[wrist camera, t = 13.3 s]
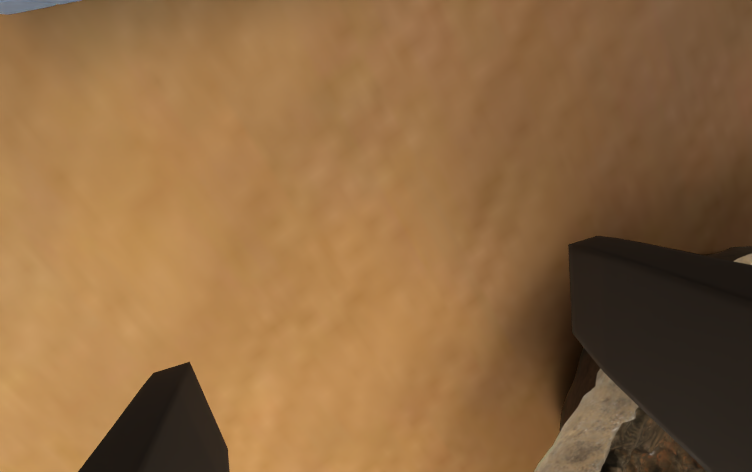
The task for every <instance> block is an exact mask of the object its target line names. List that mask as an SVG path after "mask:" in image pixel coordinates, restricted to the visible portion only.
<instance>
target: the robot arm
mask: <svg viewBox="0 0 752 472" xmlns="http://www.w3.org/2000/svg"><path fill="white" fill-rule="evenodd" d="M568 247H569V271H570V295H571V318H572V333H573V334H574V335H575V337H576V338H577V339H578V341H579V342H580V343H581V345H582V346H583V347H584V348H585V350H586V351H587V352H588V354H589V355H590V356H591V357H592V359H593V360H594V361H595V362H596V363H597V365H598V366H599V367H600V368H601V369H602V371H603V372H604V373H605V374H606V375H607V376H608V377H609V378H610V379H611V380H612V381H613V382H614V383H615V384H616V385H617V386H618V387H619V388H620V389H621V390H622V391H623V392H624V393H625V394H626V395H627V396H628V397H629V398H631V399H632V400H633V401H634V402H635V403H636V404H637V405H638V406H639V407H640V408H641V409H642V410H643V411H644V412H645V413H646V414H647V415H648V416H649V417H650V418H651V419H653V420H654V421H655V422H656V423H657V424H658V425H659V426H660V427H661V428H662V429H663V430H664V431H665V432H666V433H667V434H668V435H669V436H670V437H671V438H673V439H674V440H675V441H676V442H677V443H678V444H679V445H680V446H681V447H682V448H683V449H684V450H685V451H686V452H687V453H688V454H689V455H690V456H691V457H692V458H694V459H695V460H696V461H697V462H698V463H699V464H700V465H701V466H702V467H703V468H704V469H705V470H706V471H707V472H752V265H750V264H745V263H739V262H734V261H729V260H724V259H719V258H714V257H709V256H704V255H699V254H694V253H689V252H685V251H680V250H675V249H670V248H665V247H660V246H656V245H651V244H646V243H641V242H635V241H630V240H624V239H618V238H611V237H602V236H595V237H592V238H589V239H585V240H582V241H579V242H576V243H573V244H569V245H568ZM78 472H229V460H228V448H227V446H226V444H225V442H224V439H223V437H222V435H221V432H220V430H219V428H218V426H217V423H216V421H215V419H214V416H213V414H212V412H211V410H210V407H209V405H208V403H207V400H206V398H205V396H204V394H203V391H202V389H201V387H200V384H199V382H198V380H197V378H196V375H195V373H194V371H193V369H192V366H191V364H190V362H188V363H185V364H181V365H178V366H175V367H172V368H168V369H165V370H162V371H159V372H155V373H153V374H152V376H151V377H150V378H149V379H148V380H147V381H146V383H145V384H144V385H143V387H142V388H141V389H140V390H139V392H138V393H137V394H136V396H135V397H134V398H133V400H132V401H131V402H130V404H129V405H128V407H127V408H126V409H125V411H124V412H123V413H122V415H121V416H120V417H119V419H118V420H117V421H116V423H115V424H114V425H113V427H112V428H111V429H110V431H109V432H108V433H107V435H106V436H105V437H104V439H103V440H102V441H101V443H100V444H99V445H98V446H97V448H96V449H95V450H94V452H93V453H92V454H91V456H90V457H89V458H88V460H87V461H86V462H85V464H84V465H83V466H82V468H81V469H80V470H79V471H78Z"/></svg>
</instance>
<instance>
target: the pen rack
mask: <svg viewBox="0 0 752 472" xmlns="http://www.w3.org/2000/svg"><path fill="white" fill-rule="evenodd" d="M76 1H81V0H0V14H9V15H10V14H15V13H20V12H25V11H30V10H35V9H40V8H45V7H50V6H55V5H56V4H66V3H71V2H76Z"/></svg>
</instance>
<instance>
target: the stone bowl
mask: <svg viewBox="0 0 752 472" xmlns="http://www.w3.org/2000/svg"><path fill="white" fill-rule="evenodd" d="M706 256H709V257H714V258H719V259H724V260H729V261H734V262H739V263H745V264H750V265H752V246H747V247H733V248H729V249H727V250H725V251H723V252H720V253H716V254H711V255H706ZM534 472H707V471H706V470H705V469H704V468H703V467H702V466H701V465H700V464H699V463H698V462H697V461H696V460H695V459H694V458H692V457H691V456H690V455H689V454H688V453H687V452H686V451H685V450H684V449H683V448H682V447H681V446H680V445H679V444H678V443H677V442H676V441H675V440H674V439H673V438H671V437H670V436H669V435H668V434H667V433H666V432H665V431H664V430H663V429H662V428H661V427H660V426H659V425H658V424H657V423H656V422H655V421H654V420H653V419H651V418H650V417H649V416H648V415H647V414H646V413H645V412H644V411H643V410H642V409H641V408H640V407H639V406H638V405H637V404H636V403H635V402H634V401H633V400H632V399H631V398H629V397H628V396H627V395H626V394H625V393H624V392H623V391H622V390H621V389H620V388H619V387H618V386H617V385H616V384H615V383H614V382H613V381H612V380H611V379H610V378H609V377H608V376H607V375H606V374H605V373H604V372H603V371H602V369H601V368H600V367H599V366H598V365H597V363H596V362H595V361H594V360H593V359H592V357H591V356H590V355H589V354H588V352H587V351H586V350H585V348H583V349H582V352H581V355H580V359H579V364H578V368H577V372H576V375H575V378H574V381H573V383H572V385H571V387H570V389H569V391H568V394H567V396H566V399H565V401H564V405H563V409H562V414H561V423H560V433H559V435H558V437H557V438H556V440H555V442H554V444H553V446H552V447H551V448H550V449H549V450H548V451H547V453H546V455H545V456H544V457H543V458H542V460H541V461H540V462H539V463H538V465H537V467H536V469H535V471H534Z"/></svg>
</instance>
